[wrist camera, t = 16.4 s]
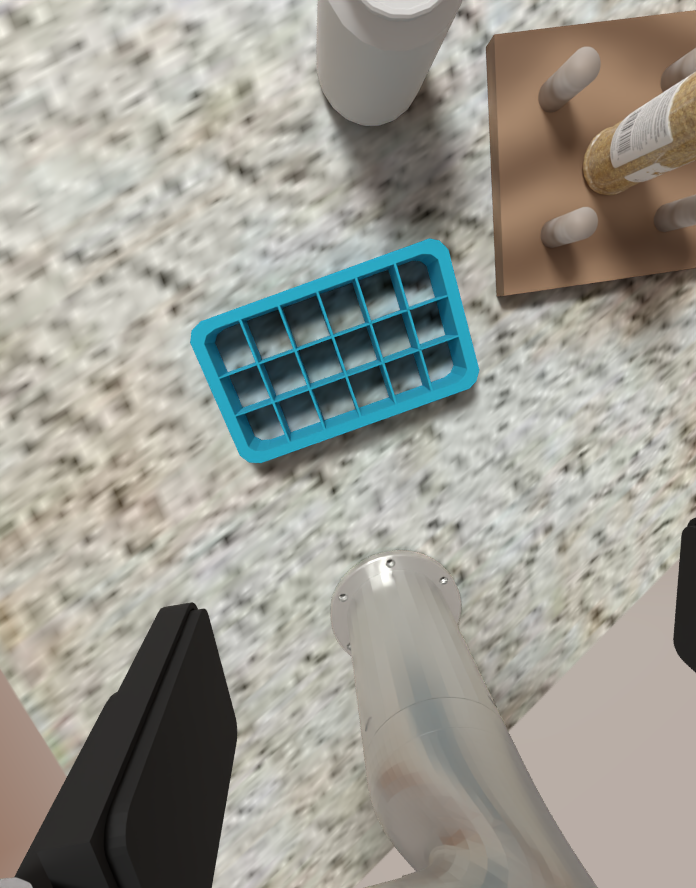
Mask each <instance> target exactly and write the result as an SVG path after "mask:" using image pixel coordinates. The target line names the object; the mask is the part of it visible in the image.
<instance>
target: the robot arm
mask: <svg viewBox="0 0 696 888" xmlns="http://www.w3.org/2000/svg"><path fill="white" fill-rule="evenodd" d="M389 559H391V560H389ZM388 560H389V561H388ZM330 614H331V624H332V630H333V632H334V635H335V637H336V639H337V641H338V642H339V644H340V645H341V647H342V648H343V649H344V650H345V651H346V652H347V653H348V654H349V655H350V656H352V663H353V671H354V679H355V687H356V695H357V703H358V711H359V719H360V727H361V736H362V744H363V752H364V760H365V768H366V775H367V783H368V789H369V794H370V798H371V802H372V805H373V808H374V811H375V813H376V816H377V818H378V820H379V822H380V824H381V826H382V828H383V830H384V832H385V833H386V835H387V836H388V838H389V839H390V841H391V842H392V843H393V845H394V846H395V848H396V849H397V850H398V851H399V853H400V854H401V855H402V856H403V857H404V858H405V859H406V861H407V862H408V863H409V864H410V865H411V866H412V867H413V868H414V870H416V872H414V873H411V874H408V875H404V876H402V878H399V879H396V880H392V881H388V882H384V883H380V884H377V885H373V886H369V887H365V888H598V887H597V886H596V884H595V883H594V881H593V880H592V878H591V877H590V875H589V874H588V873H587V871H586V869H585V868H584V866H583V865H582V863H581V862H580V860H579V859H578V857H577V856H576V854H575V853H574V851H573V850H572V848H571V847H570V845H569V843H568V842H567V840H566V839H565V837H564V835H563V834H562V832H561V830H560V829H559V827H558V826H557V824H556V822H555V820H554V819H553V817H552V815H551V814H550V812H549V810H548V808H547V807H546V805H545V803H544V801H543V799H542V797H541V796H540V794H539V792H538V790H537V788H536V786H535V785H534V783H533V781H532V779H531V777H530V775H529V773H528V771H527V769H526V767H525V765H524V763H523V761H522V759H521V757H520V755H519V753H518V751H517V749H516V746H515V744H514V742H513V740H512V738H511V736H510V734H509V732H508V730H507V728H506V726H505V724H504V722H503V720H502V718H501V715H500V713H499V711H498V709H497V707H496V705H495V703H494V701H493V699H492V697H491V695H490V692H489V690H488V688H487V686H486V684H485V682H484V680H483V678H482V676H481V674H480V672H479V669H478V667H477V665H476V663H475V661H474V659H473V657H472V655H471V653H470V651H469V649H468V646H467V644H466V642H465V640H464V638H463V636H462V634H461V632H460V630H459V628H458V626H457V625H458V623H459V619H460V615H461V599H460V594H459V590H458V588H457V586H456V584H455V581H454V580H453V578H452V576H451V575H450V573H449V572H448V571H447V570H446V569H445V568H444V567H443V565H441V564H440V563H439V562H437V561H436V560H434V559H433V558H431V557H429V556H426V555H424V554H422V553H418V552H413V551H407V550H394V551H385V552H382V553H378V554H375V555H372V556H370V557H368V558H366V559H364V560H362V561H360V562H359V563H358V564H356V565H355V566H353V567H352V568H351V569H350V570H349V571H348V572H347V573H346V574H345V575H344V576H343V577H342V579H341V580H340V582H339V583H338V585H337V587H336V589H335V591H334V594H333V597H332V601H331V607H330ZM674 626H675V627H674V638H673V640H674V646H675V649H676V651H677V653H678V655H679V656H680V658H681V659H682V660H683V661H684V662H685V663H686V664H687V665H688V666H689V667H690V668H691V669H693V671H695V672H696V518H694V519H692V520H690V522H689V523H688V525H687V527H686V528H685V529H684V530H683V532H682V536H681V549H680V562H679V575H678V588H677V600H676V613H675V625H674ZM236 742H237V722H236V717H235V713H234V710H233V706H232V702H231V698H230V694H229V691H228V687H227V683H226V679H225V676H224V672H223V668H222V664H221V661H220V657H219V653H218V649H217V645H216V642H215V638H214V634H213V630H212V627H211V623H210V619H209V615H208V613H207V611H206V609H198V608H197V606H196V605H195V603H193V602H192V603H186V604H180V605H174V606H168V607H163V608H161V609H160V611H159V612H158V614H157V616H156V618H155V620H154V622H153V624H152V626H151V628H150V630H149V632H148V634H147V636H146V637H145V639H144V641H143V643H142V645H141V647H140V649H139V651H138V653H137V655H136V657H135V659H134V661H133V663H132V665H131V667H130V669H129V671H128V673H127V675H126V677H125V679H124V681H123V682H122V684H121V686H120V688H119V690H118V692H116V693H115V694H113V695H112V696H111V697H110V698H109V700H108V701H107V703H106V704H105V706H104V708H103V710H102V712H101V713H100V715H99V717H98V719H97V721H96V723H95V725H94V727H93V729H92V731H91V732H90V734H89V736H88V738H87V740H86V742H85V744H84V746H83V748H82V750H81V751H80V753H79V755H78V757H77V759H76V761H75V763H74V765H73V767H72V769H71V770H70V772H69V774H68V776H67V778H66V780H65V782H64V784H63V786H62V787H61V789H60V791H59V793H58V795H57V797H56V799H55V801H54V803H53V805H52V807H51V808H50V810H49V812H48V814H47V816H46V818H45V820H44V822H43V824H42V825H41V828H40V829H39V832H38V833H37V835H36V837H35V839H34V841H33V843H32V844H31V846H30V848H29V850H28V852H27V854H26V856H25V858H24V860H23V862H22V863H21V865H20V867H19V869H18V871H17V873H16V875H15V877H14V878H4V879H0V888H212V882H213V877H214V871H215V865H216V859H217V853H218V848H219V842H220V836H221V830H222V824H223V818H224V813H225V807H226V801H227V795H228V789H229V783H230V778H231V772H232V766H233V760H234V754H235V748H236Z"/></svg>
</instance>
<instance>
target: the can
mask: <svg viewBox="0 0 696 888" xmlns="http://www.w3.org/2000/svg"><path fill="white" fill-rule="evenodd" d="M461 3H462V0H318V4H317V43H316V59H317V75H318V78H319V81H320V84H321V87H322V91H323V93H324V94H325V96H326V98H327V99H328V101H329V102H330V104H331V105H332V107H333V108H334V109H335V110H336V111H337V112H339V113H340V114H341V115H342V116H343V117H345V118H346V119H347V120H349V121H352V122H355V123H357V124H360V125H363V126H380V125H382V124H385V123H388V122H390V121H393V120H395V119H396V118H398V117H399V116H400V115H401V114H402V113H404V112H405V111H406V110H407V109H408V108H409V106H410V105H411V103H412V102H413V100H414V98H415V97H416V95H417V94H418V92H419V90H420V88H421V86H422V84H423V82H424V79H425V77H426V75H427V73H428V71H429V69H430V67H431V65H432V63H433V61H434V59H435V57H436V55H437V53H438V51H439V49H440V47H441V44H442V42H443V40H444V38H445V36H446V34H447V32H448V30H449V28H450V26H451V24H452V22H453V20H454V18H455V16H456V14H457V12H458V9H459V7H460V5H461Z"/></svg>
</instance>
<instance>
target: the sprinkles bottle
mask: <svg viewBox="0 0 696 888" xmlns="http://www.w3.org/2000/svg"><path fill="white" fill-rule="evenodd" d="M695 160H696V72H694V73H693V74H691V75H690V76H688V77H686V78H685V79H683V80H682V81H680V82H679V83H677V84H675V85H674V86H672V87H671V88H669V89H668V90H666V91H664V92H663V93H661V94H660V95H658V96H657V97H655V98H654V99H652V100H651V101H649V102H647V103H646V104H644V105H643V106H641V107H640V108H638V109H637V110H635V111H634V112H632V113H631V114H629V115H628V116H627V117H626V118H625V119H624V120H622V121H620V122H619V123H617V124H615V125H614V126H613V127H609V128H606V129H604V130H603V131H601V132H600V133H599V134H597V135H596V136H595V137H594V138H593V140H592V141H591V142H590V144H589V146H588V148H587V150H586V153H585V156H584V161H583V172H584V177H585V179H586V181H587V183H588V185H589V187H590V188H591V189H592V190H594V191H595V192H597V193H599V194H603V195H615V194H618V193H621V192H623V191H625V190H626V189H628V188H629V187H631V186H633V185H636V184H638V183H640V182H644V181H647V180H650V179H652V178H655V177H657V176H659V175H662V174H664V173H666V172H669V171H671V170H673V169H676V168H678V167H681V166H683V165H685V164H688V163H690V162H692V161H695Z"/></svg>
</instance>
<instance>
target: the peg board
mask: <svg viewBox="0 0 696 888" xmlns="http://www.w3.org/2000/svg"><path fill="white" fill-rule="evenodd" d="M486 60H487V83H488V107H489V130H490V153H491V177H492V200H493V223H494V247H495V270H496V293H497V296H506V295H513V294H520V293H527V292H533V291H540V290H547V289H554V288H561V287H568V286H575V285H582V284H589V283H596V282H602V281H609V280H616V279H623V278H630V277H637V276H644V275H651V274H658V273H665V272H671V271H678V270H685V269H692V268H696V160H695V161H692V162H690V163H688V164H685V165H683V166H681V167H678V168H676V169H673V170H671V171H669V172H666V173H664V174H662V175H659V176H657V177H655V178H652V179H650V180H647V181H644V182H640V183H638V184H636V185H633V186H631V187H629V188H628V189H626V190H625V191H623V192H621V193H618V194H615V195H603V194H599V193H597V192H595V191H594V190H592V189H591V188H590V187H589V185H588V183H587V181H586V179H585V177H584V172H583V161H584V156H585V153H586V150H587V148H588V146H589V144H590V142H591V141H592V140H593V138H594V137H595V136H596V135H597V134H599V133H600V132H601V131H603V130H604V129H606V128H609V127H613V126H614V125H615V124H617V123H619V122H620V121H622V120H624V119H625V118H626V117H627V116H628V115H629V114H631V113H632V112H634V111H635V110H637V109H638V108H640V107H641V106H643V105H644V104H646V103H647V102H649V101H651V100H652V99H654V98H655V97H657V96H658V95H660V94H661V93H663V92H664V91H666V90H668V89H669V88H671V87H672V86H674V85H675V84H677V83H679V82H680V81H682V80H683V79H685V78H686V77H688V76H690V75H691V74H693V73H694V72H696V10H694V11H685V12H677V13H669V14H661V15H652V16H644V17H636V18H628V19H619V20H611V21H603V22H594V23H586V24H578V25H570V26H561V27H553V28H545V29H536V30H528V31H520V32H512V33H503V34H495V35H494V36H493V37H492V39H491V40H490V42H489V43H488V45H487V46H486Z"/></svg>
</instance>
